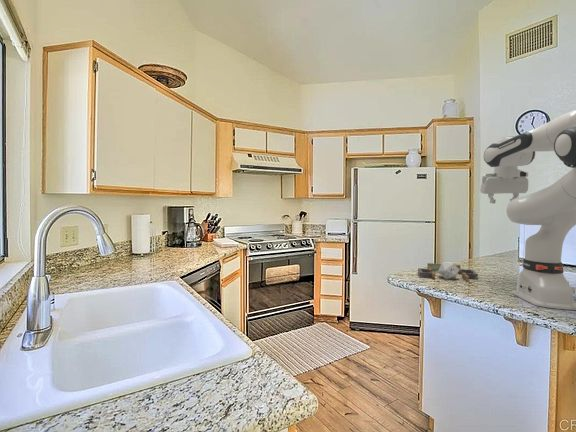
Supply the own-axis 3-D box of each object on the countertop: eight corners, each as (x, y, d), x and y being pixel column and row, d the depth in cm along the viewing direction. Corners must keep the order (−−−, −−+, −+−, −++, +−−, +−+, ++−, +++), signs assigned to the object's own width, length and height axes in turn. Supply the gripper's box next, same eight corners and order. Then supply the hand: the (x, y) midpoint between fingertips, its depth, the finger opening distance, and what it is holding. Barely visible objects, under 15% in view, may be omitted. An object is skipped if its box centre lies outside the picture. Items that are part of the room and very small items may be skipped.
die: (434, 279, 152) (444, 266, 146) (435, 267, 158) (444, 254, 152) (452, 286, 150) (462, 273, 144) (452, 274, 156) (462, 261, 150)
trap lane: (481, 283, 143) (481, 274, 143) (420, 278, 151) (420, 270, 151) (471, 273, 161) (471, 265, 161) (416, 269, 169) (416, 262, 169)
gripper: (487, 173, 142) (484, 204, 144) (532, 173, 143) (529, 203, 145) (478, 173, 149) (476, 202, 151) (521, 172, 149) (518, 202, 151)
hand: (502, 203), depth 148 cm, fingers open, 8 cm apart
